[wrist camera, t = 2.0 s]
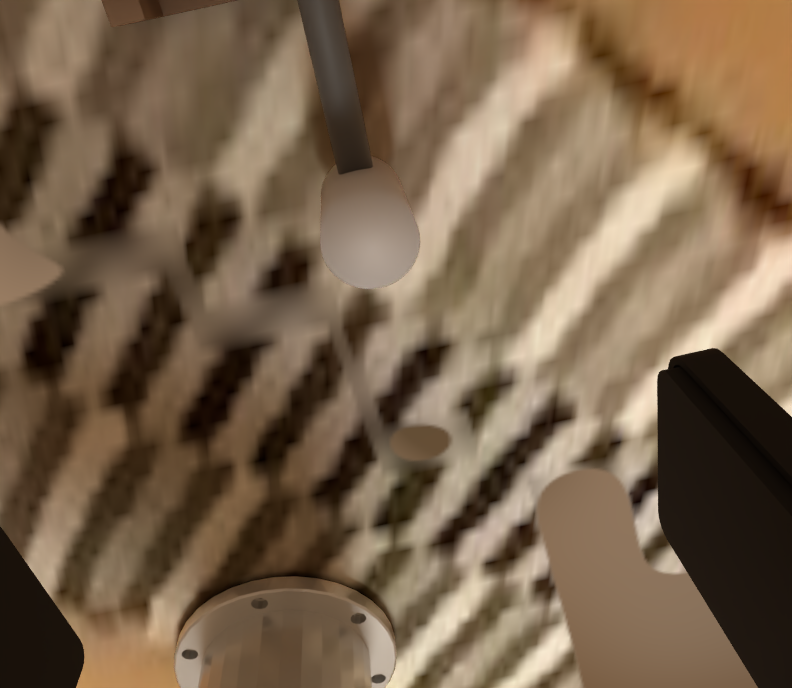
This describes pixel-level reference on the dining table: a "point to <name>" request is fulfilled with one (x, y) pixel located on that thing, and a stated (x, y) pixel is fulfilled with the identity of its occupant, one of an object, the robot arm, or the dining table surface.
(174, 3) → the lane shelf
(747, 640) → the robot arm
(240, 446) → the dining table surface
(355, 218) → the beige long handled piece
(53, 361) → the dining table surface
